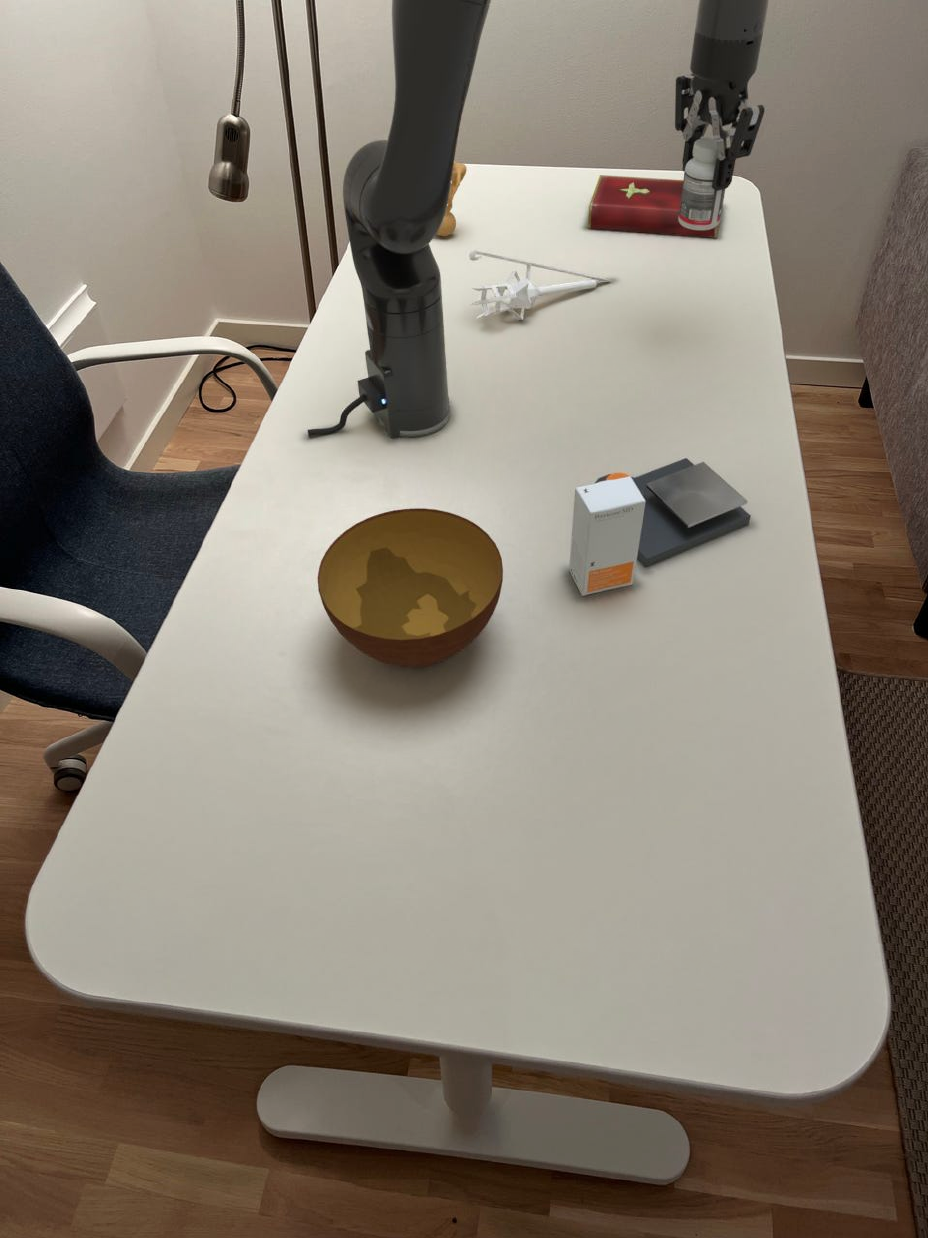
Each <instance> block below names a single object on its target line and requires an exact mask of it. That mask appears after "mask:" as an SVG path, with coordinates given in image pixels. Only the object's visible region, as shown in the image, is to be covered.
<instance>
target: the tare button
mask: <svg viewBox="0 0 928 1238" xmlns="http://www.w3.org/2000/svg"><path fill="white" fill-rule="evenodd" d="M609 474H610V475H609V476H608V477H607V479H606V480H615V479H620V478H624V477H629V476H630V475H629V474H627V473H625V472H612V473H609Z"/></svg>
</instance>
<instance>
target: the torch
mask: <svg viewBox="0 0 928 1238" xmlns="http://www.w3.org/2000/svg"><path fill="white" fill-rule="evenodd" d="M476 255H479V256H477V257H476ZM482 256H484V257H488V258H493V259H498V260H503V261H508V262H512V263H517V264H522V265H526V272H525V278H523V279H520V276H519V273H518V271H517V270H514V271H511V273H510V275H509V276H508V278H507V279H506V281H505V282H504V284H494V285H487V286H483V285H480V287H479V288H478V287H471V289H473V290H474V291H476V292H481V297H480V300H476V301H473V302H471V303H468V305H469V306H480V305H481V306H482V308H483V311H484V313H483V312H482V313H480V314H479V315H478V316H477V317H476V320H477V319H480V318H482V317H484V318H485V317H488V316H493V315H498V314H501V313H504V312H508V313H511V315H512V316H513V317H514V318H515V319H517V320H518V321H522V320H524V315H525V309H532V307H533V306H534V305H535V303H536V302H537V300H538V299H539V297H545V296H551V295H557V294H558V295H559V294H563V293H570V292H577V291H582V290H583V291H584V290H588V289H595V288H596V287H597V285H598V281H601V282H612V280H611V279H609V278H605V277H601V276H597V275H592V274H588V273H582V272H578V271H573V270H568V269H564V268H559V267H554V266H551V265H546V264H540V263H537V262H531V261H526V260H522V259H517V258H512V257H508V256H503V255H499V254H493V253H490V252H485V251H480V250H477V249H476V250H473V251H470V252H469V260H470V261H472V262H475V261H478V260H481V259H482V258H483V257H482ZM532 267H535V268H539V269H545V270H550V271H555V272H559V273H564V274H568V275H573V276H577V277H582V278H587V279H582V280H578V281H572V282H565V283H559V284H558V283H557V284H553V285H545V286H539V287H538V286H537V285H535V283H533V282H532V281H531V271H532ZM514 277H515V280H517V282H515V283H513V284H510V283H511V281H512V279H513V278H514ZM488 290H491V291H492V293H493V295H494V297H490V298H487V294H488V293H487V292H488ZM505 291H508V293H509V294H506V295H504V293H505ZM506 300H510V303H509V306H508V305H507V304H506V303H505V301H506ZM493 303H495V307H494V311H491V310H490V308H489V306H488V304H493ZM516 308H517V309H521V311H520V315H519V314H518V313H517V312H516V311H515V310H514V309H516Z"/></svg>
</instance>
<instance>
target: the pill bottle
mask: <svg viewBox="0 0 928 1238" xmlns="http://www.w3.org/2000/svg"><path fill="white" fill-rule="evenodd" d="M693 157H694V158H692V159H691V160H689V161H688V163H687V164H686V167H685V172H684V171H683V173H684V174H683V179H682V180H683V187H682V195H681V202H680V209H679V218H678V220H679V223H680V224H681V225H682V226H684V227H686V228H688V229H693V230H709V229H712V228H714V227H716V226H717V225H718V224H719V225H720V223H721V217H722V212H723V205H724V199H725V193H726V189H723V190H719V191H716V190H714V189H713V188H712V183H713V176H714V170H715V164H716V159H717V158H718V150H717V141H716V140H715V139H714V138H713V137H701V139H698V140H697V141H695V143H694V147H693ZM719 222H720V223H719Z"/></svg>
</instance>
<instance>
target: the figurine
mask: <svg viewBox="0 0 928 1238" xmlns="http://www.w3.org/2000/svg"><path fill="white" fill-rule="evenodd" d="M467 170H468V169H467V166H466V165H465V164H464V163H462V162H458V161H456V160H454V166H453V172H452V179H451V186H450V192H449V199H448V204H447V209H446V213H445V216H444V220H443V222H442V224H441V227H440V228H439V230H438V232H437V234H436V235H438V236H440V237H449V236H450V235H452V234H453V233H454V231H456V228H457V219H456V217H455V215H454V214H453V213H452V212H451V210H453V209H452V208H453V200H454V197H455V194H456V193H457V191H458V189H459V187H460V185H461V183H462V181H463V179H464V178H465V176H466V174H467Z"/></svg>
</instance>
